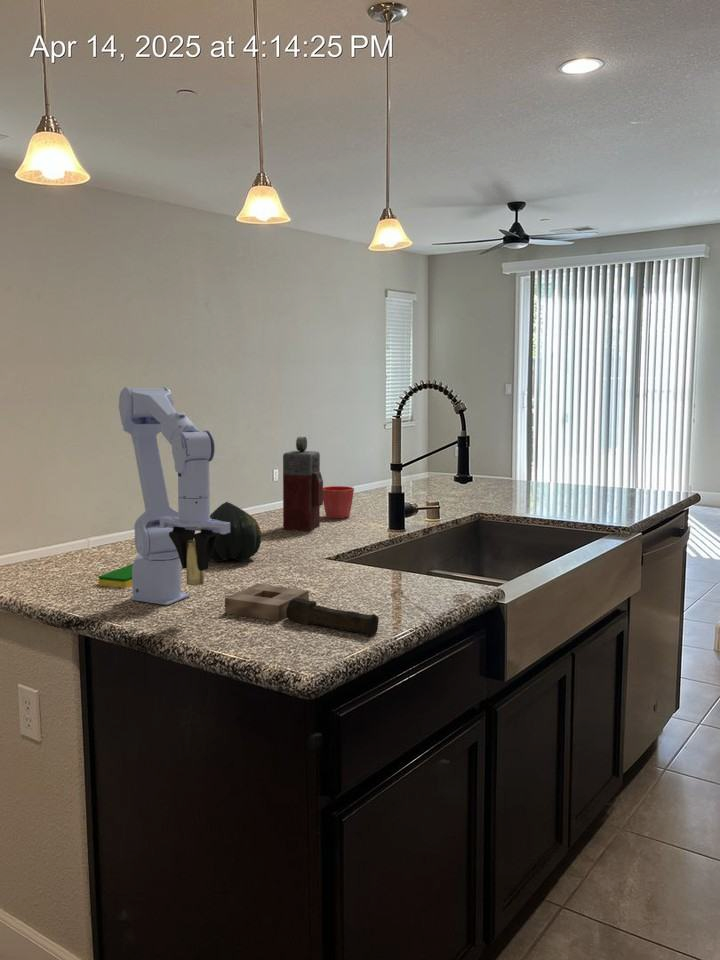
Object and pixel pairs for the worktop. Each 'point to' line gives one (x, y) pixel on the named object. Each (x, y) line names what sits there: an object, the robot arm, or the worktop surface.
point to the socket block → (263, 601)
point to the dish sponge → (117, 578)
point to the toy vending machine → (302, 488)
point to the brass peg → (193, 565)
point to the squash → (236, 534)
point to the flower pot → (337, 501)
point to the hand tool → (331, 617)
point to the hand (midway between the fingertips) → (195, 568)
